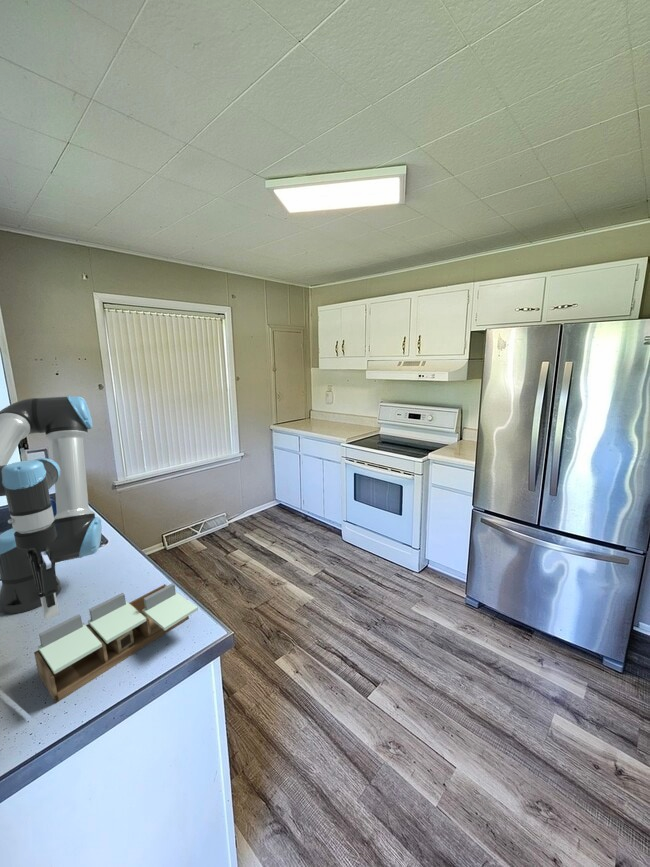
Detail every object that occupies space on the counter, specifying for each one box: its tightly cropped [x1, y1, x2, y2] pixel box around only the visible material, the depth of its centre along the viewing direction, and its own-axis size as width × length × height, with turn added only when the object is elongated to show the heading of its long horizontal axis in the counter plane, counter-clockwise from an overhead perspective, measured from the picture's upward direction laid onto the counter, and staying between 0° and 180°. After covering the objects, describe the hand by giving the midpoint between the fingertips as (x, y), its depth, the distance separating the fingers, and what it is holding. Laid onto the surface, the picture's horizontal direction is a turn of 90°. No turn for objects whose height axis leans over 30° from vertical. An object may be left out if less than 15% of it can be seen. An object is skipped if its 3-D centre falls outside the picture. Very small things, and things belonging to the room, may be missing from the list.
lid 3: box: [142, 582, 199, 631], centre depth 92 cm, size 11×9×4 cm
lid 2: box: [87, 592, 146, 644], centre depth 89 cm, size 11×9×4 cm
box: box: [33, 584, 190, 704], centre depth 90 cm, size 12×31×7 cm, turn 142°
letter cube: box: [109, 630, 134, 653], centre depth 90 cm, size 4×4×4 cm
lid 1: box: [37, 613, 102, 674], centre depth 81 cm, size 11×9×4 cm
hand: (51, 615), depth 87 cm, fingers closed
